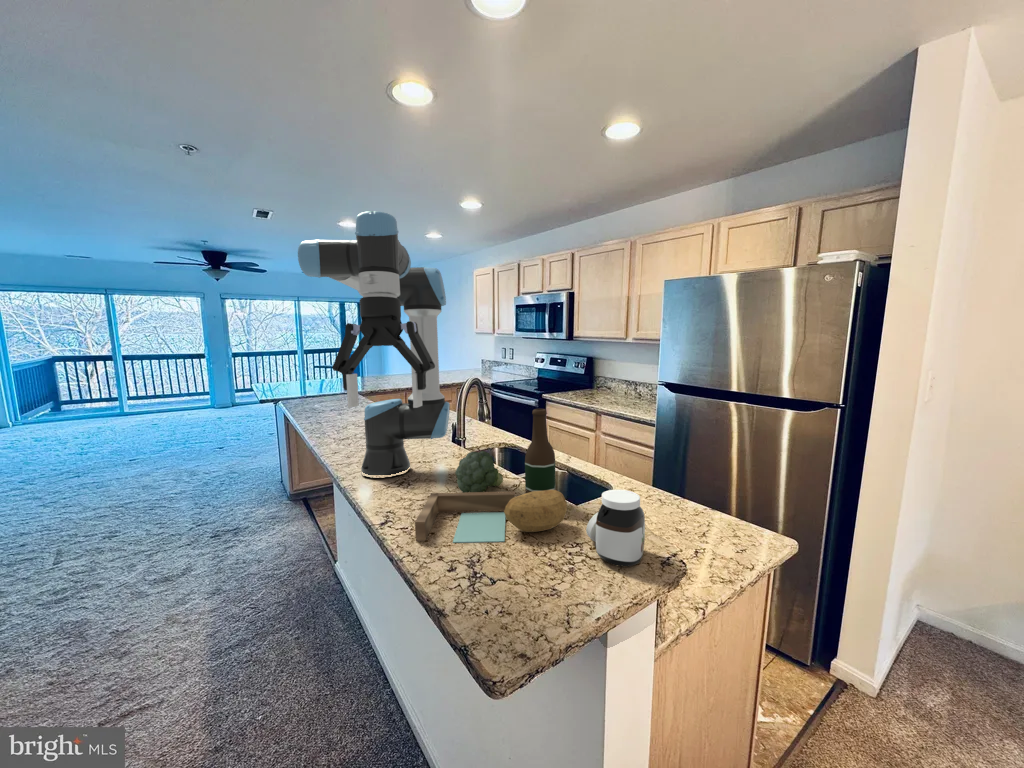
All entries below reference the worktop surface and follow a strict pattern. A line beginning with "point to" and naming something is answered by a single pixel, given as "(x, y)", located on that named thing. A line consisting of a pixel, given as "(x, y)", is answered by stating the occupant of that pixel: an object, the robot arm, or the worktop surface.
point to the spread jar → (619, 528)
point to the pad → (480, 527)
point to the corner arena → (458, 507)
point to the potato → (536, 510)
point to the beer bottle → (539, 457)
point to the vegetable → (477, 472)
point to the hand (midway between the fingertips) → (385, 406)
